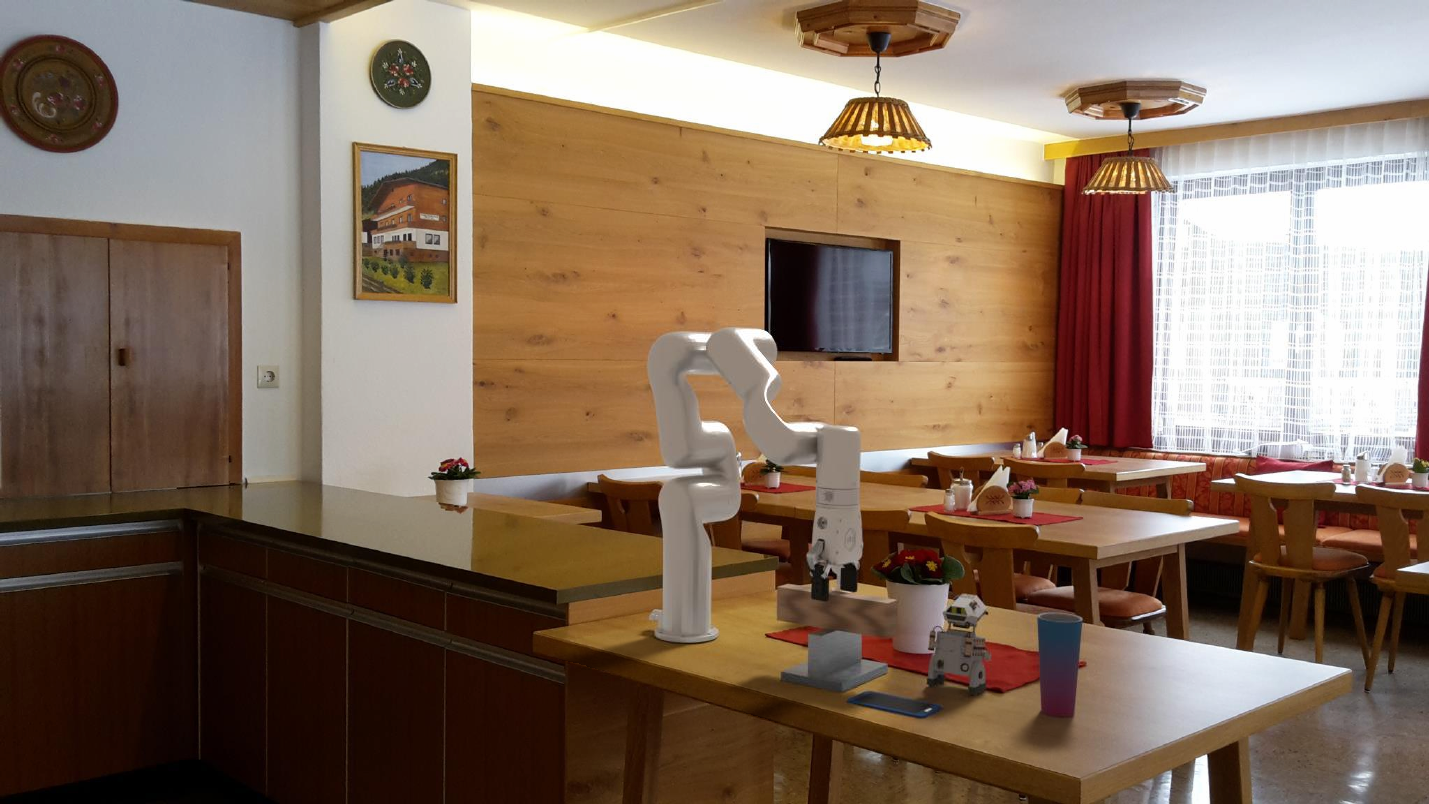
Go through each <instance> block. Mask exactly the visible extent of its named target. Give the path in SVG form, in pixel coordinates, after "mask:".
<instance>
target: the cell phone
mask: <svg viewBox="0 0 1429 804" xmlns="http://www.w3.org/2000/svg"><path fill="white" fill-rule="evenodd" d="M846 703H847V704H851V705H856V706H860V707H865V708H868V709H873V710H878V711H883V712H888V713H891V714H892V713H893V714H897V715H902V716H907V717H910V718H917V719H927V718H928V717H929V716H932V715H934V714H935V713H938V712H939V711H941V710H943V706H942V705H941V704H936V703H932V702H928V701H922V700H917V699H912V698H908V697H903V696H899V695H894V694H887V693H884V692H880V691H879V692H878V691H874V690H866V691H865V690H864V691H863V692H861V693H858V694H856V695H854V696H851V697H850V698H848V699H847V700H846Z"/></svg>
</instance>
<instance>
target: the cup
mask: <svg viewBox="0 0 1429 804" xmlns="http://www.w3.org/2000/svg"><path fill="white" fill-rule="evenodd" d="M1036 619H1037V637H1038V638H1037V640H1038V643H1037V644H1038V664H1039V668H1038V669H1039V690H1040V711H1041V712H1042V713H1043V714H1045V715H1047V716H1053V717H1059V718H1066V717H1067V718H1068V717H1072V716H1074V715H1075V712H1076V711H1075V710H1076V699H1077V688H1078V676H1079V666H1080V665H1079V664H1080V654H1081V642H1082V631H1083V630H1082V628H1083V617H1082V616H1079V615H1076V614H1072V613H1064V612H1042V613H1039V614H1038V615H1037V616H1036Z"/></svg>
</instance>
